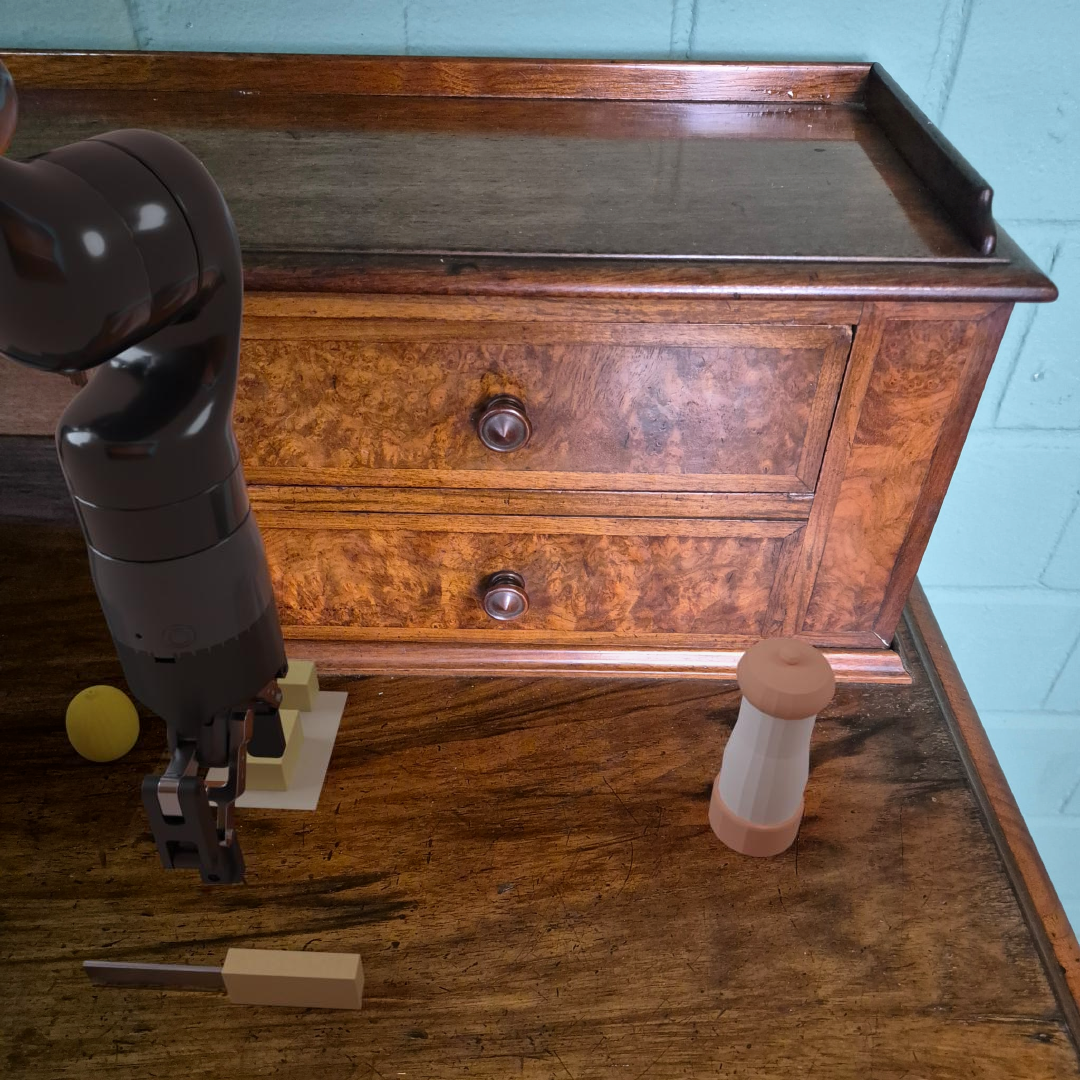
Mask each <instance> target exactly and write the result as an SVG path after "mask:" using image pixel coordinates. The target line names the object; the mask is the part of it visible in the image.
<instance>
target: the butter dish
mask: <svg viewBox="0 0 1080 1080" xmlns="http://www.w3.org/2000/svg"><path fill="white" fill-rule="evenodd" d="M348 695H349V692H348V691H331V690H330V691H329V690H327V691H326V690H319V691H318V694H317V697H316V700H315V703H314V707H313V710H312V711H299V713H300V719H301V724H302V729H303V734H304V739H303V743H302V746H301V749H300V752H299V755H298V759H297V762H296V765H295V768H294V771H293V774H292V778H291V781H290V784H289V787H288V790H287V791H267V790H245V791H244V793H243V794H242V795H241V796H240V797H238V798H237V799H236V800H235V808H253V809H276V810H277V809H278V810H297V811H298V810H301V811H316V810H317V807H318V803H319V800H320V795H321V792H322V789H323V784H324V781H325V777H326V774H327V770H328V767H329V763H330V760H331V757H332V753H333V749H334V745H335V741H336V738H337V734H338V731H339V727H340V725H341V720H342V717H343V713H344V709H345V706H346V703H347V698H348ZM208 769H209V770H208V773H207V774H206V777H205V779H204V780H206V781H227V780H228V767H227V768H208ZM209 804H210V807H218V806H217V804H216V803H215V802H213V801H209Z"/></svg>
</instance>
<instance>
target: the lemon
mask: <svg viewBox="0 0 1080 1080" xmlns="http://www.w3.org/2000/svg"><path fill="white" fill-rule="evenodd" d="M65 728H66V733H67V737H68V740H69V742H70V744H71V745H72V747H73V748H74V749H75V751H76V752H77V753H78V754H79V755H80V756H82V757H83V758H85V759H86V760H88V761H92V762H95V763H107V762H112V761H115V760H118V759H119V758H122V757H123V756H124V755H127V754H128V753H129V752H130V751H131V750H132V748H133V747H134V745H135V744H136V742H137V740H138V737H139V733H140V718H139V715H138V711H137V709H136V708H135V705H134V704H133V702H132V700H131V699H130V698H129V696H127V694H125V692H123V691H122V690H121V689H118V688H116V687H114V686H111V685H104V684H102V685H99V684H98V685H94V686H89V687H87V688H84V689H83V690H81V691H80V692H79V693H78V694H76V696H74V698H73V699H72V700H71V702H70V703H69V705H68V707H67V710H66V715H65Z"/></svg>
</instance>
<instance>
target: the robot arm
mask: <svg viewBox="0 0 1080 1080" xmlns="http://www.w3.org/2000/svg"><path fill="white" fill-rule="evenodd" d="M19 111H20V110H19V97H18V91H17V87H16V84H15V82H14V79H13V77H12V75H11V73H10V71H9V68H7V66H6V65H5V64H4V62H3V60H2V59H1V58H0V356H1V357H3V358H5V359H7V360H9V361H11V362H14V363H16V364H19V365H22V366H24V367H27V368H30V369H34V370H36V371H37V370H38V371H40V372H41V371H42V372H45V373H53V374H64V375H65V374H68V375H69V374H76V373H82V372H85V371H88V370H91V369H94V368H97V369H96V371H95V372H94V373H93V375H92V377H91V378H90V379H89V380H88V382H87V383H86V384H85V385H84V387H82V388H81V390H80V391H79V392H78V393H77V394H76V395H75V396H74V397H73V398H72V399H71V400H70V401H69V403H67V406H66V407H65V408H64V409H63V411H62V412H61V414H60V416H59V419H58V420H57V424H56V426H55V432H54V434H55V435H54V438H55V439H54V442H55V447H56V451H57V452H56V453H57V457H58V460H59V465H60V467H61V471H62V475H63V477H64V481H65V482H66V484H65V485H66V486H67V489H68V492H69V495H70V496H69V497H70V499H71V501H72V504H73V507H74V510H75V514H76V516H77V519H78V522H79V525H80V528H81V531H82V534H83V536H84V540H85V543H86V548H87V554H88V562H89V569H90V574H91V578H92V581H93V585H94V588H95V592H96V595H97V598H98V600H99V604H100V607H101V610H102V612H103V615H104V618H105V621H106V624H107V627H108V630H109V633H110V636H111V638H112V641H113V644H114V647H115V650H116V654H117V656H118V659H119V662H120V665H121V669H122V671H123V674H124V677H125V680H126V683H127V686H128V688H129V690H130V692H131V693H132V695H133V696H134V697H135V699H137V700H138V702H140V703H141V704H142V705H143V706H145V707H146V708H148V709H149V710H150V711H152V712H153V711H154V712H155V714H156V715H158V717H160V718H161V719H162V720H164V721H165V723H166V727H167V728H166V738H167V742H168V743H167V745H168V752H169V754H170V762H169V763H168V766H167V768H166V770H165V772H164V773H163V774H155V773H153V774H151V773H150V774H149V773H148V774H146V775H145V776H144V778H143V780H142V783H141V789H140V794H141V799H142V802H143V803H142V804H143V806H144V809H145V812H146V816H147V819H148V822H149V825H150V828H151V832H152V835H153V839H154V843H155V845H156V848H157V852H158V854H159V858H160V861H161V864H162V867H163V869H165V870H176V869H180V870H181V869H182V870H198V873H199V876H200V880H201V882H202V883H203V884H205V885H220V886H221V885H223V886H224V885H225V886H232V885H233V884H239V883H241V882H243V879H244V875H245V873H246V871H247V866H246V862H245V857H244V854H243V851H242V848H241V845H240V841H239V838H238V834H237V831H236V829H235V820H236V819H235V815H236V814H235V813H236V807H235V800H236V799H237V798H238V797H240V796H241V795H242V794H243V793H244V791H245V786H246V760H247V753H248V754H249V755H250V756H252V757H258V758H281V757H282V756H283V754H284V751H285V748H286V741H285V736H284V732H283V727H282V722H281V718H280V713H279V707H280V704H281V702H282V698H283V696H282V691H281V688H279V687H278V683H277V679H278V678H281V679H285V677H286V675H287V672H288V669H289V666H288V662H287V660H288V658H287V654H286V649H285V643H284V642H285V641H284V636H283V632H282V626H281V621H280V616H279V611H278V606H277V605H278V604H277V601H276V600H277V599H276V595H275V591H274V586H273V581H272V576H271V571H270V565H269V560H268V556H267V551H266V546H265V541H264V537H263V535H262V531H261V529H260V526H259V524H258V520H257V519H256V516H255V514H254V510H253V507H252V504H251V500H250V495H249V489H248V485H247V481H246V475H245V470H244V465H243V460H242V455H241V451H240V446H239V442H238V437H237V433H236V430H235V426H234V425H235V423H234V420H235V408H236V400H237V393H238V388H239V387H238V386H239V377H240V361H241V345H242V328H243V314H244V313H243V311H244V265H243V252H242V249H241V243H240V239H239V233H238V229H237V226H236V223H235V220H234V217H233V213H232V211H231V209H230V206H229V204H228V202H227V200H226V198H225V196H224V194H223V192H222V190H221V189H220V187H219V185H218V183H217V182H216V180H215V178H214V177H213V176H212V174H211V173H210V171H209V170H208V169H207V168H206V166H205V165H204V163H202V161H201V160H200V159H199V158H198V157H197V156H196V155H195V154H194V153H193V152H191V151H190V150H189V149H188V148H187V147H186V146H184V145H183V144H181V143H180V142H178V141H177V140H175V139H174V138H172V137H170V136H168V135H165V134H163V133H161V132H158V131H155V130H150V129H146V128H124V129H115V130H111V131H107V132H103V133H100V134H97V135H93V136H90V137H87V138H84V139H81V140H78V141H76V142H73V143H70V144H66V145H62V146H60V147H56V148H53V149H50V150H47V151H43V152H41V153H37V154H34V155H31V156H28V157H24V158H22V159H17V160H11V159H10V158H8V157H6V156H4V155H6V153H7V151H8V149H9V147H10V145H11V143H12V140H13V139H14V136H15V133H16V130H17V127H18V121H19V113H20V112H19ZM154 712H153V713H154ZM227 767H228V780H227V781H206V780H205V779H204V778H203V777H202V776H201V775H198V768H204V769H205V768H206V769H207V768H208V769H210V768H227ZM209 801H213V802H215V803H216V804H217V806H216V807H217V820H214V816H213V812H212V809H211V806H210V804H209Z"/></svg>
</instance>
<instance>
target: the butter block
mask: <svg viewBox="0 0 1080 1080" xmlns="http://www.w3.org/2000/svg"><path fill="white" fill-rule="evenodd" d="M279 713H280V718H281V722H282V727H283V732H284V736H285V741H286V748H285V751H284V754H283V756H282V757H281V758H258V757H252V756H250V755H249V754H248V753H247V760H246V786H245V790H267V791H287V790H288V787H289V784H290V781H291V778H292V774H293V771H294V768H295V765H296V762H297V759H298V755H299V752H300V749H301V746H302V743H303V739H304V734H303V729H302V724H301V719H300V713H299V710H284V709H279Z"/></svg>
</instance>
